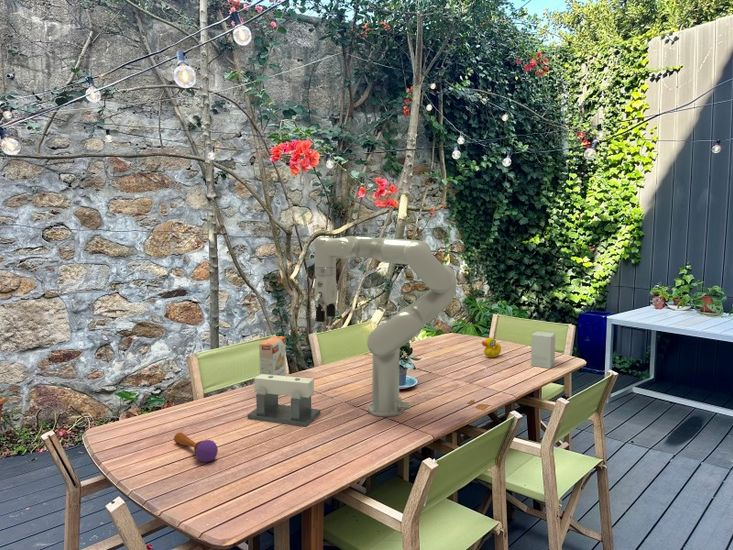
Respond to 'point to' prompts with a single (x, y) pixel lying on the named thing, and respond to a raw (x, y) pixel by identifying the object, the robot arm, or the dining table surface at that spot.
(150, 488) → the dining table surface
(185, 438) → the purple maraca
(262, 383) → the cream rectangular bar
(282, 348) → the cracker box
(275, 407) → the rack
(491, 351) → the duckling
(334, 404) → the dining table surface
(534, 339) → the supplement box
